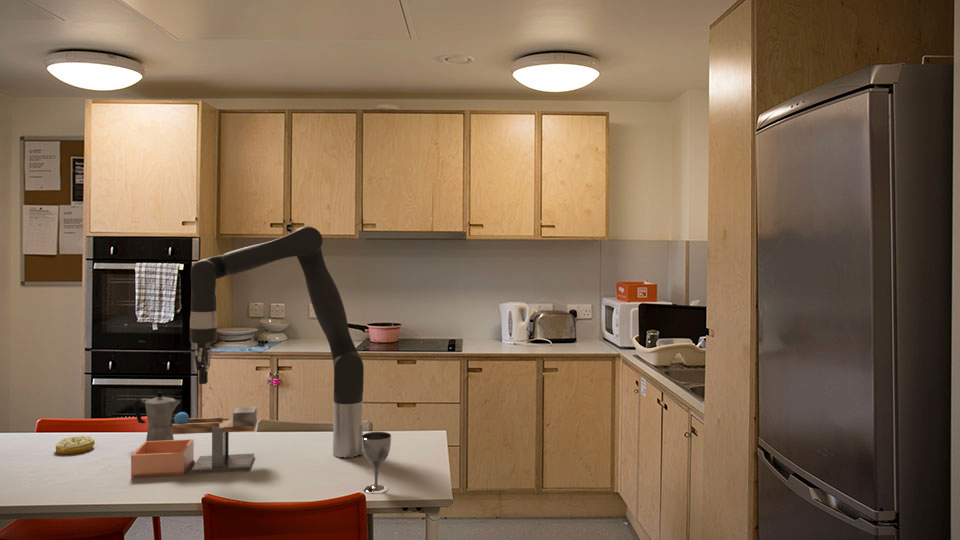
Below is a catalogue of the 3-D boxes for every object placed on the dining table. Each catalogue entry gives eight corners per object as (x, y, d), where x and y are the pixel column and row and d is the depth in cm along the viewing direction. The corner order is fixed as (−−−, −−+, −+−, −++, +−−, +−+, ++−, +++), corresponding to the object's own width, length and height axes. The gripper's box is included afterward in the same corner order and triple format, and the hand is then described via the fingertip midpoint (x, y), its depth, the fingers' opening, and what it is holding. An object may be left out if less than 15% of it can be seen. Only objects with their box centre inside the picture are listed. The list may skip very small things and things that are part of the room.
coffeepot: (185, 441, 224) (185, 388, 224) (173, 449, 215) (173, 394, 214) (139, 440, 224) (139, 388, 223) (125, 449, 214) (125, 394, 214)
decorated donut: (52, 450, 213) (51, 438, 213) (89, 443, 221) (89, 432, 221) (60, 457, 206) (59, 445, 206) (98, 450, 213) (98, 439, 213)
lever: (256, 423, 206) (256, 406, 206) (253, 430, 198) (253, 412, 198) (177, 427, 201) (177, 409, 201) (171, 434, 193) (171, 415, 193)
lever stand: (254, 457, 209) (254, 416, 208) (249, 470, 196) (249, 427, 195) (200, 460, 205) (200, 418, 205) (191, 474, 192) (191, 429, 192)
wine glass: (362, 484, 186) (363, 431, 186) (391, 483, 187) (391, 431, 187) (360, 494, 178) (360, 439, 178) (389, 494, 179) (390, 439, 179)
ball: (190, 423, 200) (190, 410, 200) (187, 426, 196) (187, 413, 196) (176, 424, 199) (176, 410, 199) (172, 427, 195) (172, 414, 195)
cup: (193, 459, 205) (193, 439, 205) (183, 475, 191) (183, 452, 191) (144, 462, 202) (144, 441, 202) (131, 478, 188) (131, 455, 188)
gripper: (213, 328, 192) (212, 387, 193) (220, 323, 205) (220, 378, 206) (185, 329, 190) (185, 388, 191) (194, 323, 203) (194, 379, 204)
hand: (203, 383), depth 198 cm, fingers closed
